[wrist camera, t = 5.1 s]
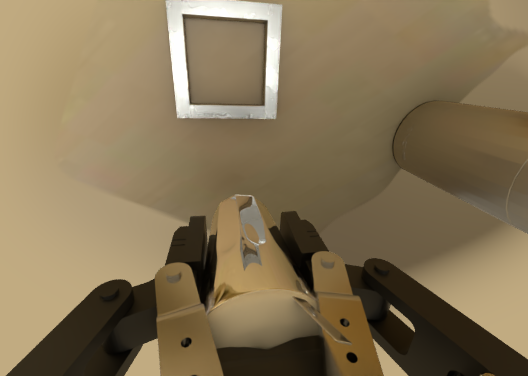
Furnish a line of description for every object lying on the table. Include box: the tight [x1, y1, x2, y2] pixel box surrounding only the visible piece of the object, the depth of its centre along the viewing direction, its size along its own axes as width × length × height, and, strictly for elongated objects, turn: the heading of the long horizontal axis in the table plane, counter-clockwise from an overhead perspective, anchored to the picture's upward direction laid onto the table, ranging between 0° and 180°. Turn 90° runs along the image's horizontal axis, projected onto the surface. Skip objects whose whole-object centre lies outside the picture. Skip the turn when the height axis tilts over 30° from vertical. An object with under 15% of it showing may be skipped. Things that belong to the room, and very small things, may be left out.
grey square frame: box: [166, 0, 282, 119], centre depth 25 cm, size 10×10×2 cm
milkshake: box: [199, 194, 352, 349], centre depth 11 cm, size 4×5×10 cm
